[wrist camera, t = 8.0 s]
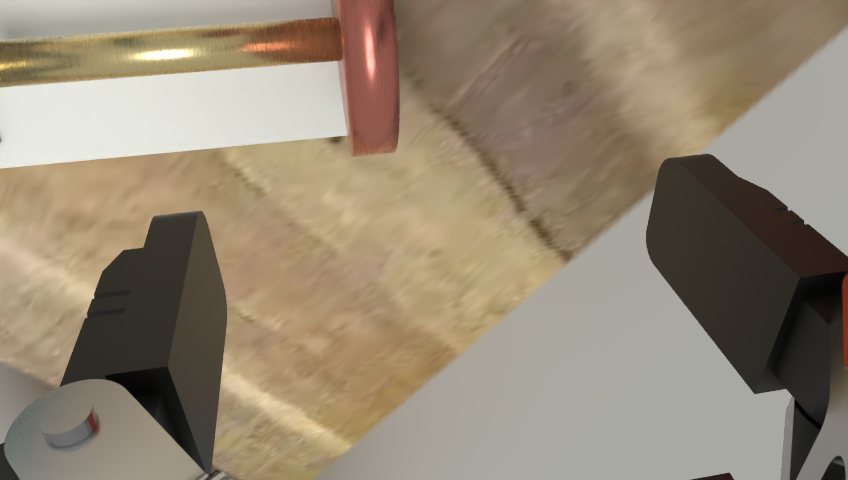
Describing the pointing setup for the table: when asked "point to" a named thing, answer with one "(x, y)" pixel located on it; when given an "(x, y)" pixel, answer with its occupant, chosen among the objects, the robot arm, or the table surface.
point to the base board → (162, 87)
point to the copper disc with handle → (239, 59)
